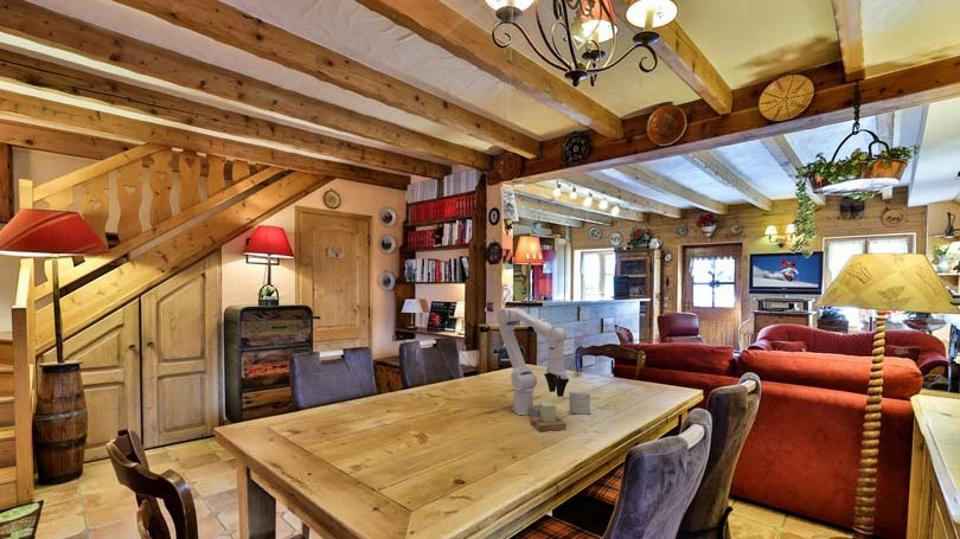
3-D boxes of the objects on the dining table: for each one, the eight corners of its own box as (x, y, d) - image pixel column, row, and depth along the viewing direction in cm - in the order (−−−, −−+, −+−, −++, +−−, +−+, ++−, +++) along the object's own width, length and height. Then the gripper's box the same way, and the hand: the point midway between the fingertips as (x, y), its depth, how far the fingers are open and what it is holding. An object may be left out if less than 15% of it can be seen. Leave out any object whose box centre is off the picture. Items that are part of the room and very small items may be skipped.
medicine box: (588, 411, 183) (588, 390, 183) (590, 414, 179) (590, 393, 179) (569, 411, 184) (569, 390, 184) (570, 414, 179) (570, 392, 180)
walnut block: (530, 425, 167) (530, 417, 167) (555, 423, 169) (555, 415, 169) (539, 433, 157) (540, 425, 157) (565, 432, 159) (565, 423, 159)
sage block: (540, 418, 165) (540, 402, 165) (552, 417, 165) (552, 402, 165) (543, 422, 160) (543, 406, 160) (555, 421, 161) (555, 405, 161)
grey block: (528, 416, 177) (528, 406, 177) (543, 414, 180) (543, 404, 180) (538, 421, 170) (538, 411, 170) (553, 419, 173) (553, 409, 173)
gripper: (573, 361, 165) (574, 398, 164) (557, 355, 179) (557, 389, 178) (556, 362, 163) (556, 399, 163) (541, 356, 177) (541, 390, 177)
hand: (556, 394), depth 170 cm, fingers open, 7 cm apart
